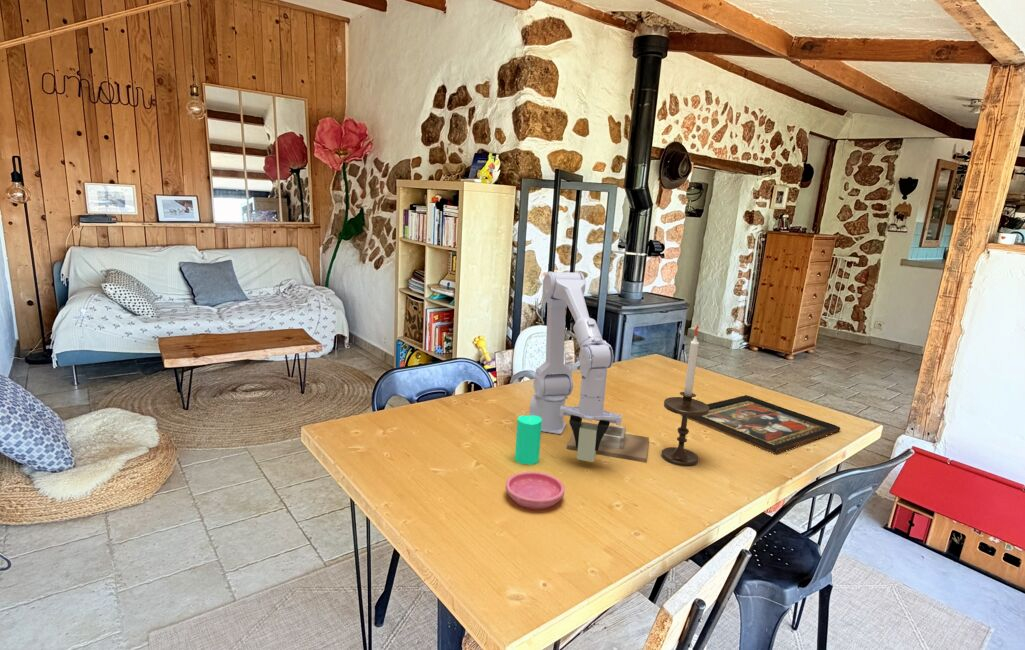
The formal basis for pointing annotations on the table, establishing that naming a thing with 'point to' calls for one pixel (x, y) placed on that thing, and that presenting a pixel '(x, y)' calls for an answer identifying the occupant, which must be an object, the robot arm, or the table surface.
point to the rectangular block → (587, 441)
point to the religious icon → (763, 424)
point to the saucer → (535, 489)
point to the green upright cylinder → (528, 439)
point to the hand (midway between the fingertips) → (587, 447)
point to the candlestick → (685, 412)
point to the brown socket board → (619, 444)
